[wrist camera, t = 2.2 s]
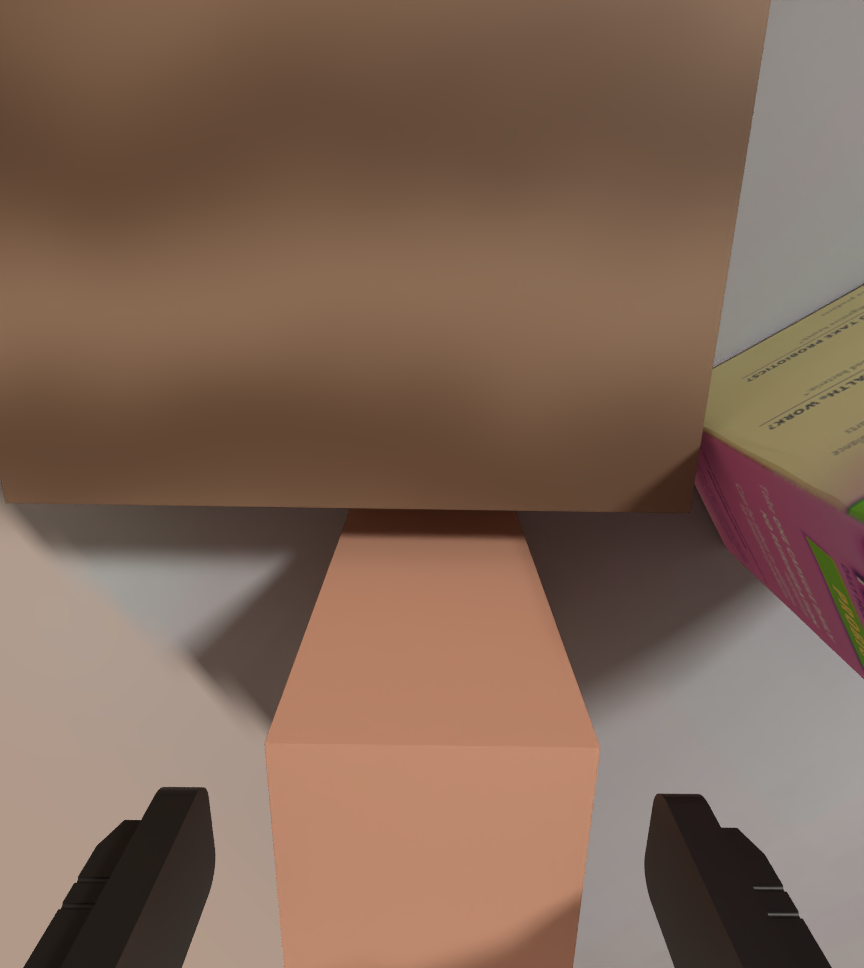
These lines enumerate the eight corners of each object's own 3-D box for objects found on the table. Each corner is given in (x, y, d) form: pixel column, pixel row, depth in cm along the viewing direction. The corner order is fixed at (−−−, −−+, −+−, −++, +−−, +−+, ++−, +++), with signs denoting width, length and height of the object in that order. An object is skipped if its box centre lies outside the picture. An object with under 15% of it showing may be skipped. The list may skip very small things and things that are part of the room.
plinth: (-23, -265, 13) (-210, -492, 9) (725, -252, 13) (845, -470, 9) (95, 456, 18) (5, 503, 14) (635, 465, 18) (689, 513, 14)
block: (350, 507, 19) (263, 743, 9) (514, 509, 19) (600, 748, 9) (354, 649, 20) (284, 977, 11) (506, 651, 20) (571, 980, 11)
